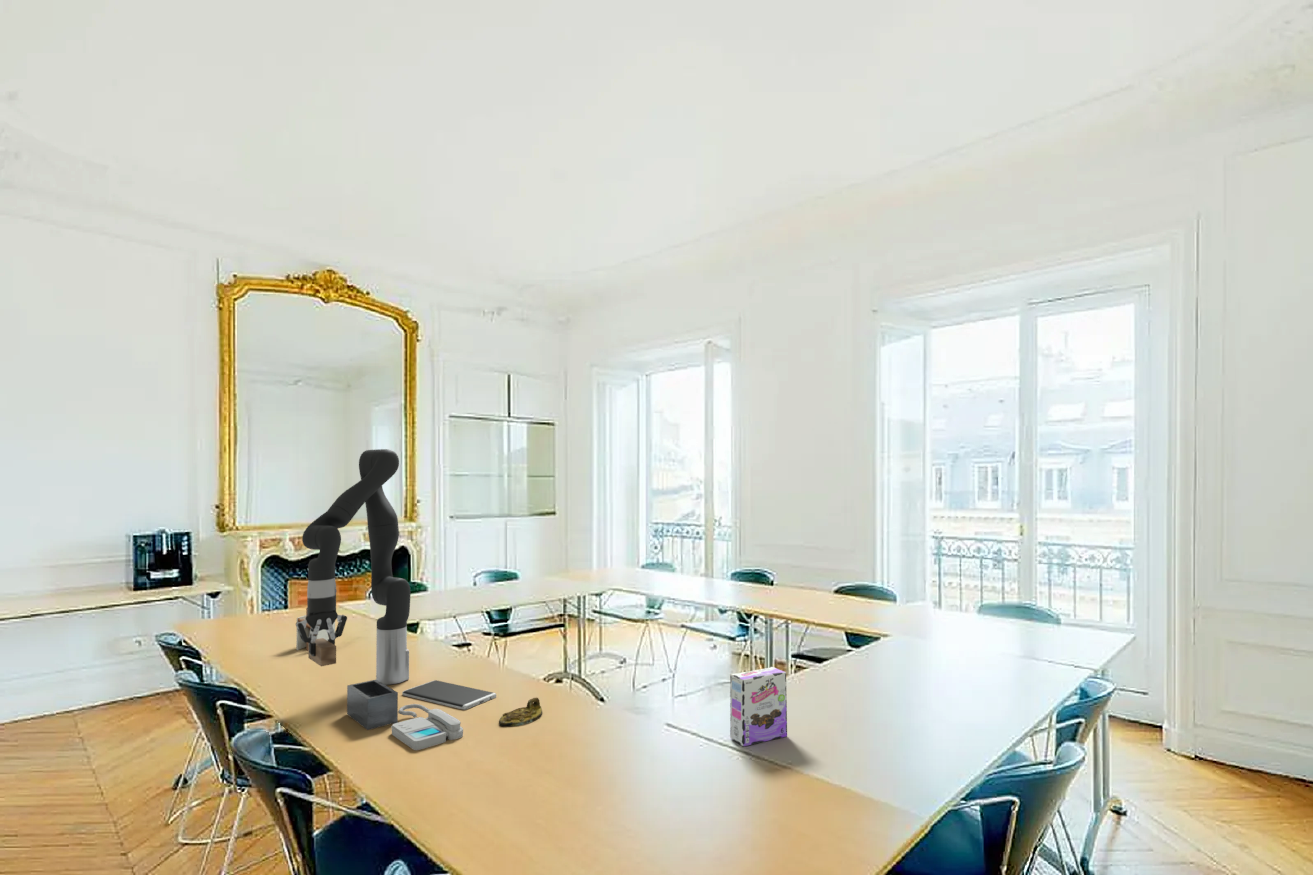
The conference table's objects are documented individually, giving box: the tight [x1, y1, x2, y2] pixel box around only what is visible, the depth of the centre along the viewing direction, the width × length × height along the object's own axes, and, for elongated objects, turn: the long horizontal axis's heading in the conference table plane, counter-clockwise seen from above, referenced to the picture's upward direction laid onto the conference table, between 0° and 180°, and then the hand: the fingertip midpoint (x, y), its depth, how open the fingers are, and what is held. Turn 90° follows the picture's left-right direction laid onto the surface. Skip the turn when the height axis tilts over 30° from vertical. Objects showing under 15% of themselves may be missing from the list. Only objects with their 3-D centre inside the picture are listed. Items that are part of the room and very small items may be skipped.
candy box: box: [729, 666, 788, 747], centre depth 177 cm, size 14×6×16 cm, turn 117°
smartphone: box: [402, 679, 497, 711], centre depth 211 cm, size 13×27×2 cm, turn 59°
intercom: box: [390, 703, 464, 751], centre depth 184 cm, size 13×4×25 cm
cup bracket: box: [346, 679, 399, 731], centre depth 193 cm, size 8×16×8 cm, turn 42°
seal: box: [498, 697, 543, 727], centre depth 192 cm, size 9×5×15 cm
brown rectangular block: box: [307, 638, 337, 667], centre depth 201 cm, size 4×12×5 cm, turn 42°
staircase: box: [295, 607, 336, 652], centre depth 270 cm, size 9×11×17 cm
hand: (321, 654), depth 201 cm, fingers closed on brown rectangular block, 4 cm apart
